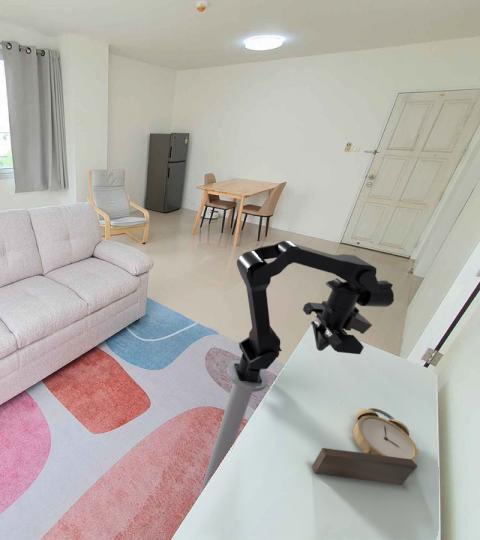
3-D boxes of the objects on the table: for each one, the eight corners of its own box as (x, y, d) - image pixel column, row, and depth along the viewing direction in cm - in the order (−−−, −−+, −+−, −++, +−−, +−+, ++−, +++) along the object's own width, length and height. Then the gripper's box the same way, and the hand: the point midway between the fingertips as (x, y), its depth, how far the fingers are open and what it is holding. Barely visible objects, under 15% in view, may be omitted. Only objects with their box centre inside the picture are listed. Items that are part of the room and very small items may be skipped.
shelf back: (311, 466, 66) (322, 447, 63) (396, 477, 65) (412, 459, 62) (314, 473, 65) (325, 454, 62) (401, 484, 63) (417, 466, 60)
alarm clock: (358, 445, 68) (359, 394, 78) (349, 455, 71) (351, 404, 80) (422, 475, 62) (414, 416, 72) (410, 484, 65) (404, 426, 75)
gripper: (400, 329, 67) (370, 378, 74) (351, 288, 84) (331, 331, 91) (349, 324, 68) (324, 373, 75) (311, 284, 84) (294, 328, 92)
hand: (319, 349), depth 83 cm, fingers closed
